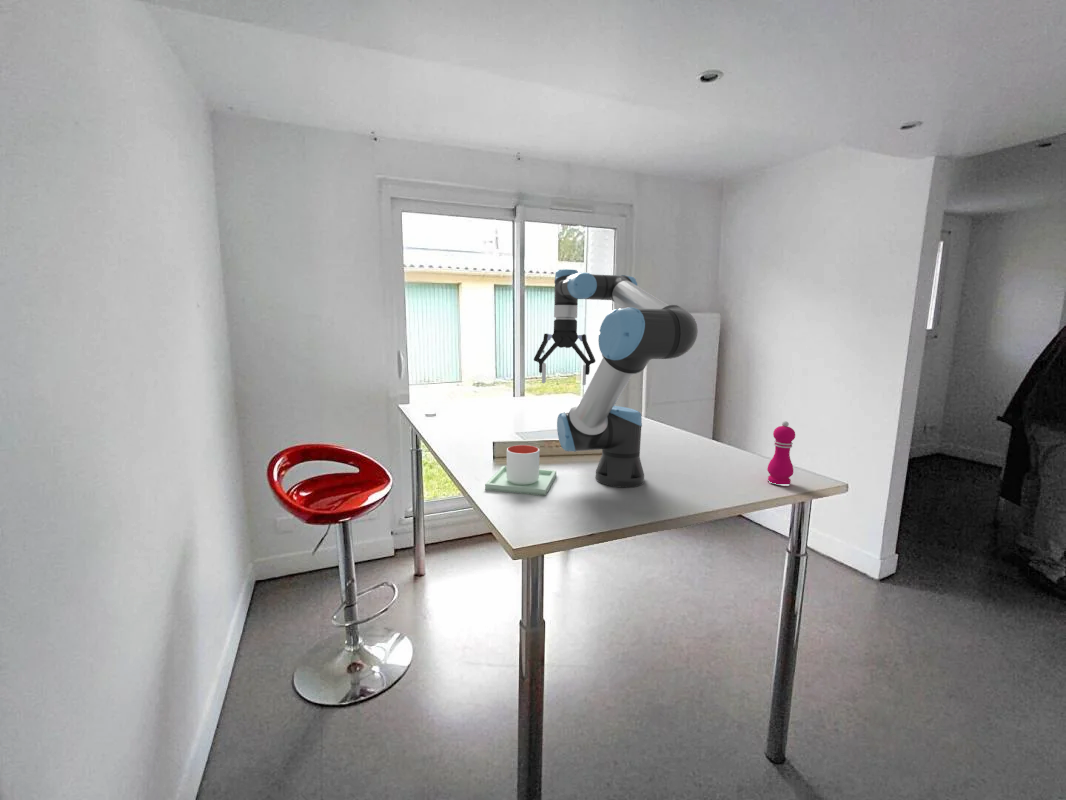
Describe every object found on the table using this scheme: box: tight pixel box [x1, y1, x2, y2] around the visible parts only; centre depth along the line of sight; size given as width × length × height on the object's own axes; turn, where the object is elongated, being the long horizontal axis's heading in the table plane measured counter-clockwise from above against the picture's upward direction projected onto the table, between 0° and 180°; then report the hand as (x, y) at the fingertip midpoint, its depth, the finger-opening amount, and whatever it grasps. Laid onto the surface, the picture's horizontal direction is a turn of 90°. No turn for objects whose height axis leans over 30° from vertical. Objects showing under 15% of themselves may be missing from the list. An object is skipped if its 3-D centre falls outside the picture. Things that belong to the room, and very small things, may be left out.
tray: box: [484, 465, 557, 496], centre depth 143 cm, size 18×18×2 cm
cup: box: [506, 444, 540, 485], centre depth 142 cm, size 10×10×10 cm
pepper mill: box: [766, 420, 796, 485], centre depth 145 cm, size 7×7×20 cm
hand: (563, 383), depth 155 cm, fingers open, 13 cm apart
